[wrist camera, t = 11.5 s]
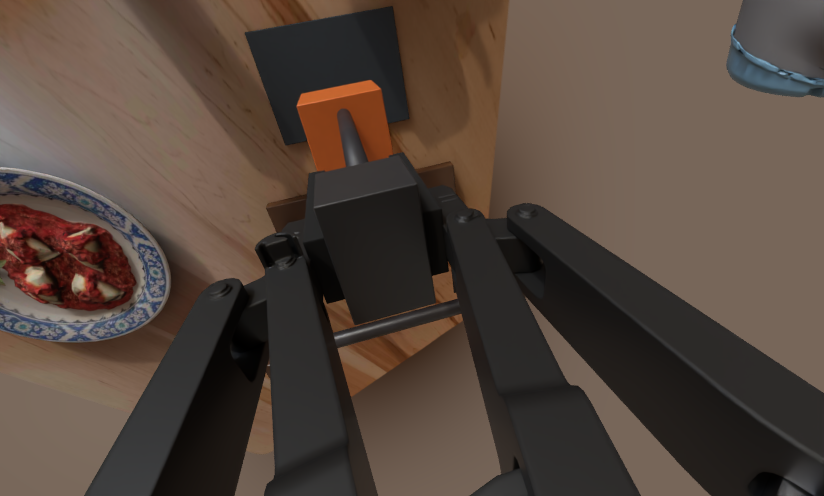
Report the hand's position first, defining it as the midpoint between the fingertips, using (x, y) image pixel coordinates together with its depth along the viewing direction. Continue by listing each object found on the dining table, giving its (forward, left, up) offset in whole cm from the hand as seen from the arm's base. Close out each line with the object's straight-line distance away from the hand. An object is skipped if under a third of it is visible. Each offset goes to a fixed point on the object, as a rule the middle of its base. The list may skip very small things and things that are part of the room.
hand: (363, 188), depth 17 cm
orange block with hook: (0, 0, -16) cm, 16 cm away
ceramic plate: (+40, +12, -29) cm, 51 cm away
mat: (0, -2, -29) cm, 29 cm away
